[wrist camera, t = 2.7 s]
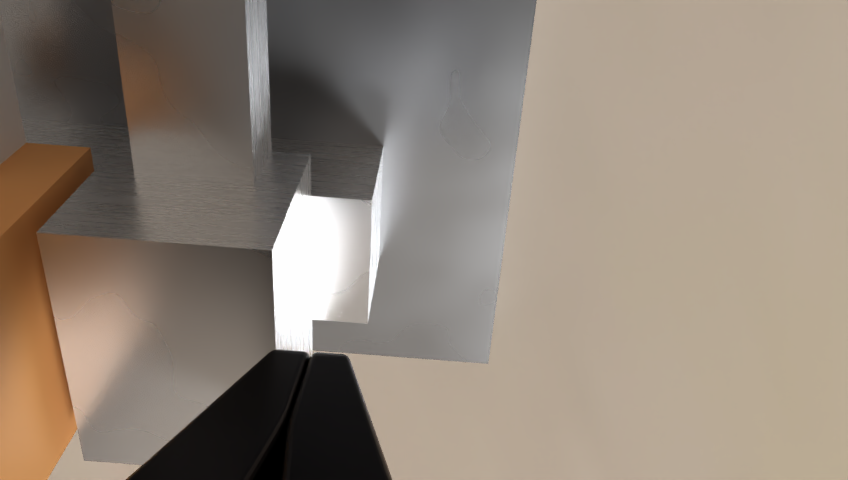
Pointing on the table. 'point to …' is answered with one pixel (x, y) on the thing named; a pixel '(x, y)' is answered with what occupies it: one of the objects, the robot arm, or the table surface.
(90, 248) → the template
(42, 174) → the slider
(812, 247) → the table surface
